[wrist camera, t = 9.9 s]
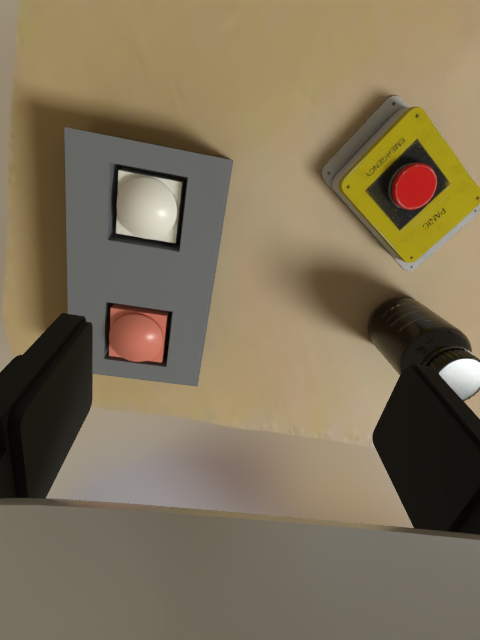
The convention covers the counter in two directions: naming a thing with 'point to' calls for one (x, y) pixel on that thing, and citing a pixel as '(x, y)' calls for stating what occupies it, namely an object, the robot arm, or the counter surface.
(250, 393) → the counter surface
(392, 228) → the emergency button
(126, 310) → the red button
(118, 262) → the button panel
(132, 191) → the ivory button
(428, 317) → the supplement bottle
